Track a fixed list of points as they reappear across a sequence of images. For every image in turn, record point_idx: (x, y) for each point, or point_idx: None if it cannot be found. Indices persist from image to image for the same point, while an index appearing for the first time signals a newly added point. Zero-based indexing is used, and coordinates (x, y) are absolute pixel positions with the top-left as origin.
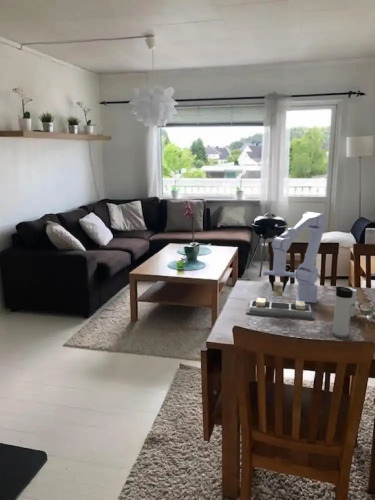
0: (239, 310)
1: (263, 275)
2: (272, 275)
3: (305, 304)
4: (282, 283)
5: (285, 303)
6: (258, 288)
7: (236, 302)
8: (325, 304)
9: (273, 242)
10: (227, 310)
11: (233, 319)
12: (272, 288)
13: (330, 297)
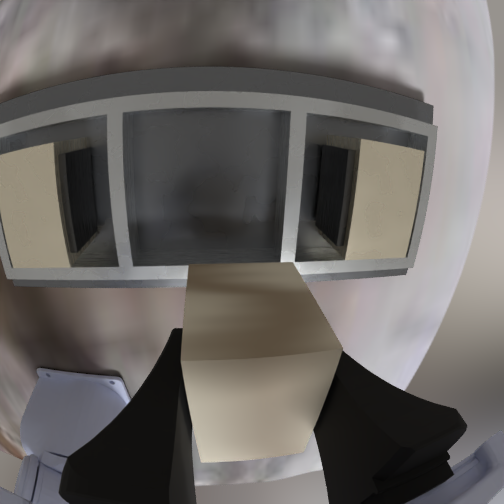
0: (449, 164)
1: (499, 431)
2: (407, 499)
3: (27, 274)
4: (200, 440)
5: (161, 264)
6: (308, 445)
7: (441, 279)
8: (6, 355)
9: None
10: (485, 160)
11: (462, 41)
12: None
13: None
